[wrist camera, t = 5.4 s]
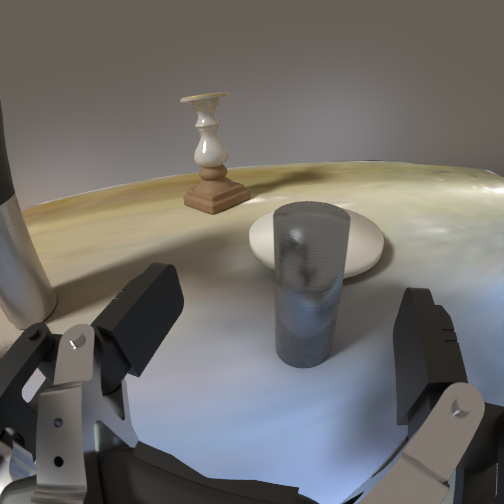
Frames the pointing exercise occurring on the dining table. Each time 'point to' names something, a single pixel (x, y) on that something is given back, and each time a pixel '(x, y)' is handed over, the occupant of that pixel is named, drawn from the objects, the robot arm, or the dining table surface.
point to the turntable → (358, 252)
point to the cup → (308, 279)
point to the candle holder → (212, 161)
